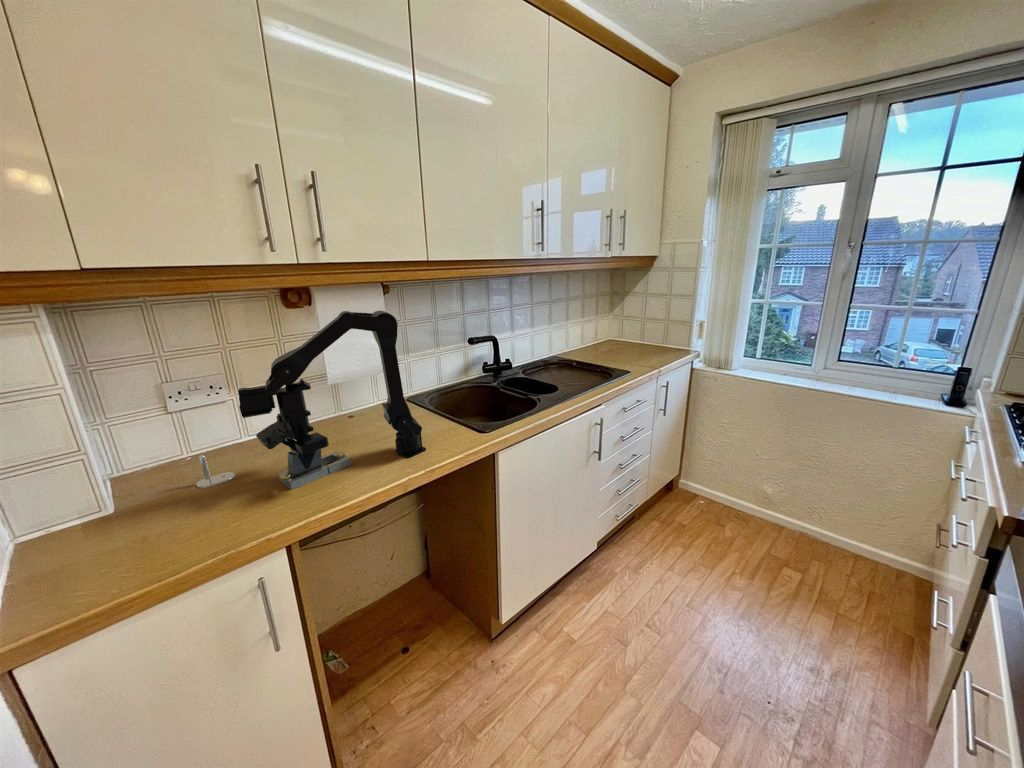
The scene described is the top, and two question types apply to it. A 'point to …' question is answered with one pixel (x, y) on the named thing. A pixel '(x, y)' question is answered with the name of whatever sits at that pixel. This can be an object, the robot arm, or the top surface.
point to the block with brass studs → (297, 465)
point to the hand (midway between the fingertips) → (304, 466)
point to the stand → (211, 479)
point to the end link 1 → (301, 477)
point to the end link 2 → (335, 461)
